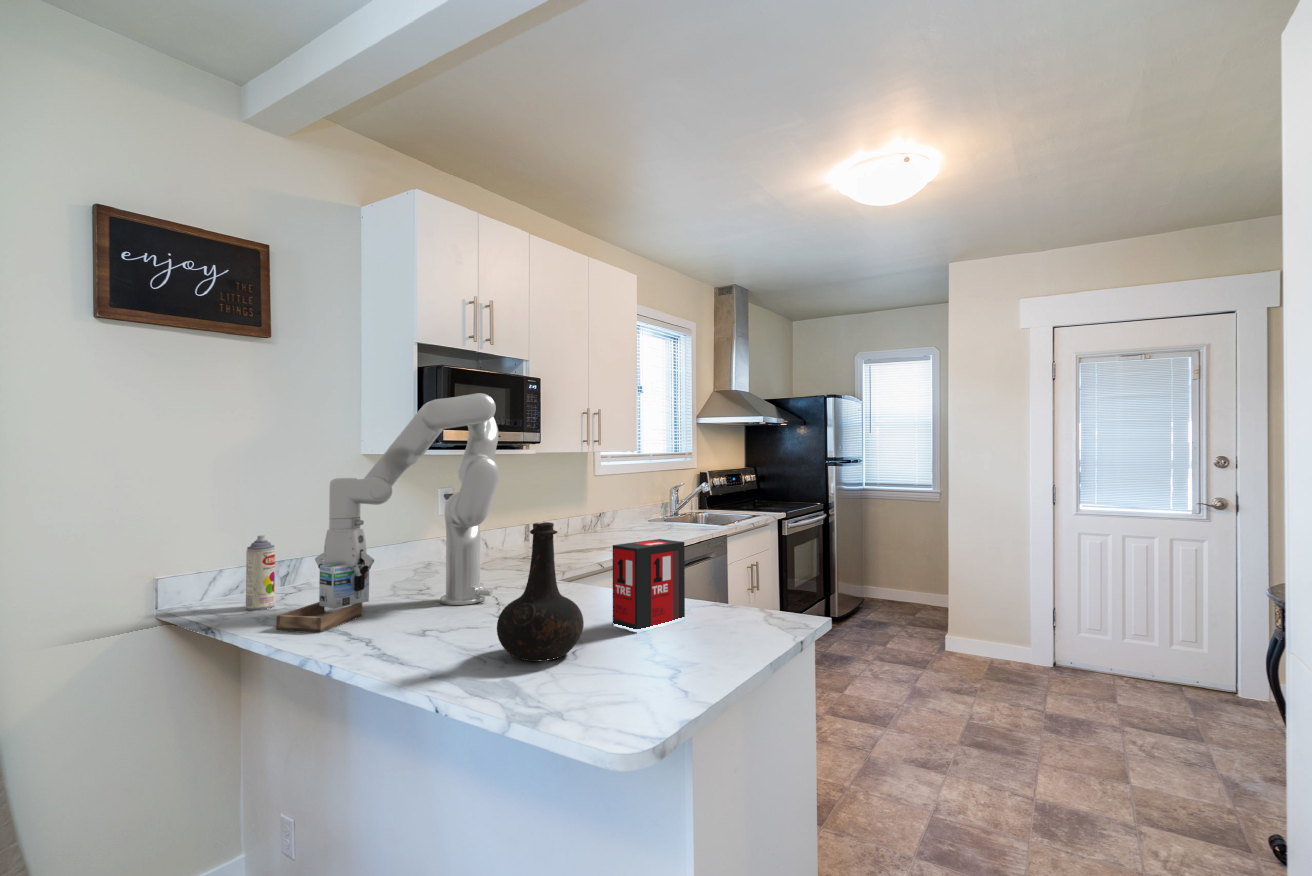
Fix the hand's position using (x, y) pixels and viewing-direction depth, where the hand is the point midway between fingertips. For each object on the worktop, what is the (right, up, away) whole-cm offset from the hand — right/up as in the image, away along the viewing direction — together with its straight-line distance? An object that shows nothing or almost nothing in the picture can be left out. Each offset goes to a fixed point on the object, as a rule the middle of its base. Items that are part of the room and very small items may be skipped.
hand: (344, 589), depth 172 cm
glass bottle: (+59, -6, -36) cm, 69 cm away
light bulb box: (0, -4, 0) cm, 4 cm away
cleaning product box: (+81, -6, -10) cm, 82 cm away
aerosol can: (-27, -7, +8) cm, 29 cm away
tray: (-2, -6, -9) cm, 11 cm away
